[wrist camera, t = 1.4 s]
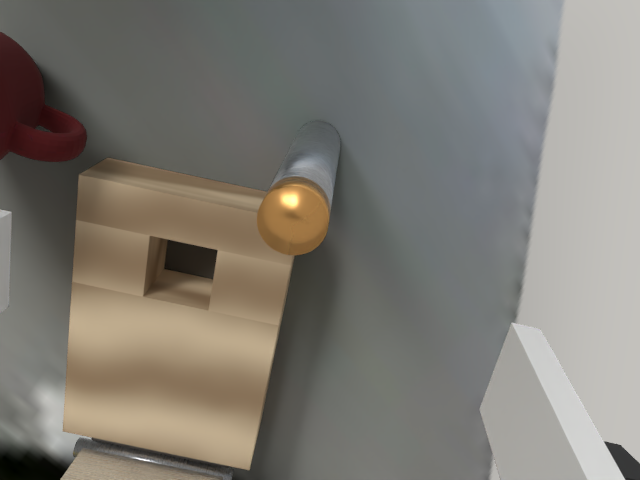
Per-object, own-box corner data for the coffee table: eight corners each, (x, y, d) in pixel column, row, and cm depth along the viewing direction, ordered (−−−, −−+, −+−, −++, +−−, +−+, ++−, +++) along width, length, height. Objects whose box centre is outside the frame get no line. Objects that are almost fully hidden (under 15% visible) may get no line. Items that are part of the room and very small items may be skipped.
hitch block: (107, 157, 36) (78, 174, 33) (306, 200, 36) (300, 221, 33) (78, 528, 47) (53, 573, 43) (232, 560, 47) (221, 608, 43)
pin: (300, 115, 35) (263, 180, 22) (344, 125, 35) (335, 195, 22) (291, 160, 36) (251, 247, 23) (335, 169, 36) (320, 261, 23)
